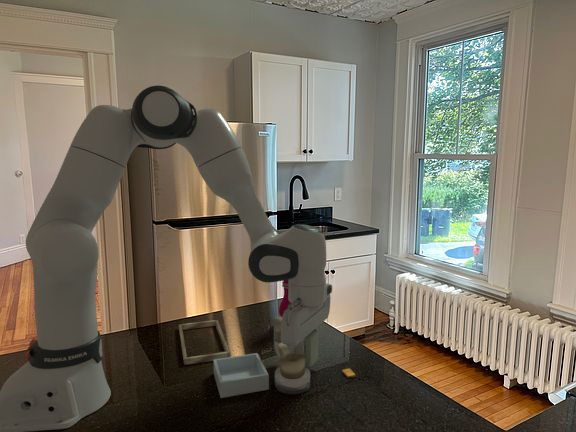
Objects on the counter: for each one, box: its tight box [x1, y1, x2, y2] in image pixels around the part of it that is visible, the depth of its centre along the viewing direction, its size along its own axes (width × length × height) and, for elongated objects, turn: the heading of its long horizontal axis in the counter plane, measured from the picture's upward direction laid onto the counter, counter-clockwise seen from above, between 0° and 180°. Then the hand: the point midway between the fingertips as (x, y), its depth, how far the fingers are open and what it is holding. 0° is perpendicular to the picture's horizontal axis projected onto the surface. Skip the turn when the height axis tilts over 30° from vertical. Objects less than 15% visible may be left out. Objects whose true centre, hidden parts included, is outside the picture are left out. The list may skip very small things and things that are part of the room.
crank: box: [273, 316, 306, 378], centre depth 98 cm, size 15×6×8 cm, turn 18°
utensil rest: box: [178, 319, 232, 366], centre depth 116 cm, size 12×23×2 cm, turn 18°
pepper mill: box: [278, 280, 291, 317], centre depth 126 cm, size 7×7×20 cm
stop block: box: [293, 331, 320, 368], centre depth 100 cm, size 4×4×7 cm
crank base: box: [274, 366, 356, 395], centre depth 96 cm, size 19×8×3 cm, turn 108°
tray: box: [212, 352, 270, 399], centre depth 96 cm, size 11×11×4 cm
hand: (306, 348), depth 100 cm, fingers closed on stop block, 4 cm apart
